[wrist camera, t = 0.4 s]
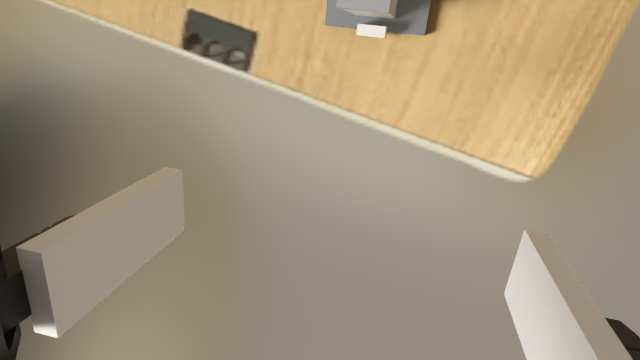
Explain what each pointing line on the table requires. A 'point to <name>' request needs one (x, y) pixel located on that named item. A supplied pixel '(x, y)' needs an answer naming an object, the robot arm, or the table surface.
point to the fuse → (369, 7)
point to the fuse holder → (383, 19)
